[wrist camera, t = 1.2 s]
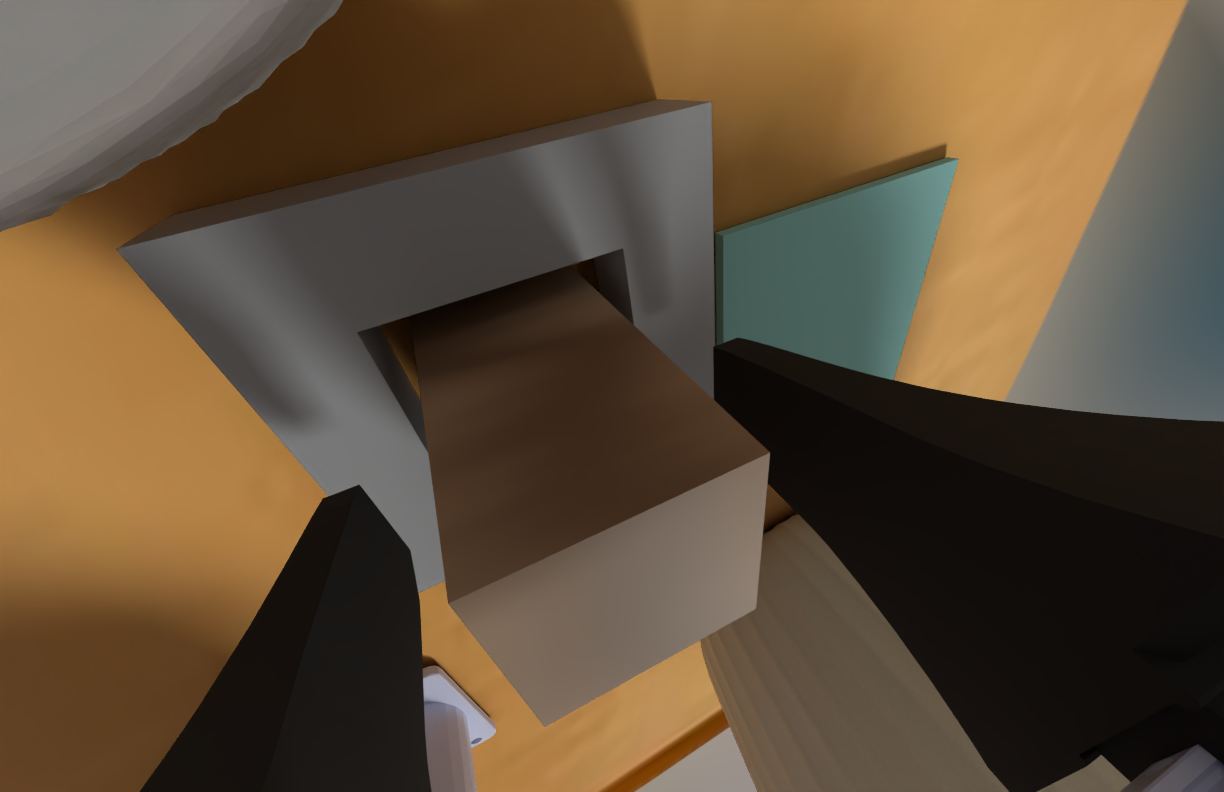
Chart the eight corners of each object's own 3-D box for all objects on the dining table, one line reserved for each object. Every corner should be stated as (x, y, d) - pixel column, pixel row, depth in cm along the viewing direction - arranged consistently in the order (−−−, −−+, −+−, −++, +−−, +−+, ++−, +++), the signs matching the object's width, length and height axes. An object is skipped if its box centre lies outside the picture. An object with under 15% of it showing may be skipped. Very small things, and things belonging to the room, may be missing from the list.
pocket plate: (409, 535, 14) (413, 594, 13) (169, 215, 8) (116, 249, 6) (682, 419, 16) (716, 456, 15) (658, 99, 10) (711, 101, 9)
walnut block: (468, 431, 13) (544, 727, 7) (408, 309, 11) (448, 603, 5) (593, 383, 14) (755, 608, 8) (565, 261, 12) (769, 452, 5)
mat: (717, 450, 18) (723, 457, 18) (715, 232, 13) (723, 236, 12) (886, 374, 20) (893, 379, 20) (947, 157, 15) (958, 158, 15)
